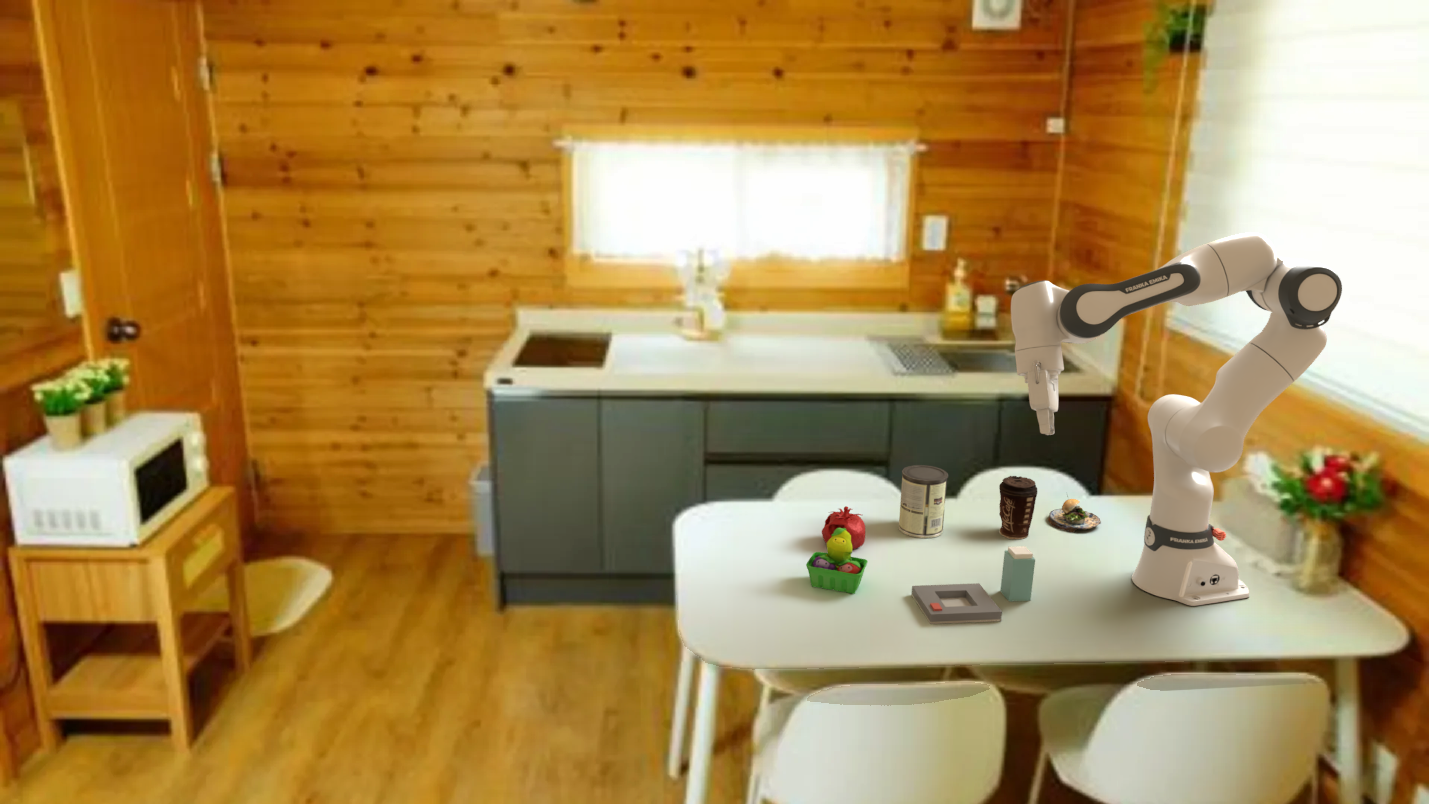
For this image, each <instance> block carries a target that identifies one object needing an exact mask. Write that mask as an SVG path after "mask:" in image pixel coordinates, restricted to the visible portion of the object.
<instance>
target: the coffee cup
mask: <svg viewBox="0 0 1429 804" xmlns="http://www.w3.org/2000/svg"><path fill="white" fill-rule="evenodd" d="M998 488H999V496H1000V500H999V517H1000V520H1001V526H1000V528H999V530H998V531H999V532H998V533H999V535H1001V536H1003V537H1005V538H1007V539H1010V540H1022V539H1025V538H1027V537H1029V531H1030V528H1031V524H1032V520H1033V517H1034V512H1035V505H1036V500H1037V497H1038V496H1037V495H1038V487H1037V485H1036V481H1035V480H1033V479H1031V478H1028V477H1026V476H1017V475H1009V476H1007V477H1004V478H1003V479H1002V482H1001V483H1000V484H999V487H998Z"/></svg>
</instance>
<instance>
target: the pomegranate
mask: <svg viewBox="0 0 1429 804" xmlns="http://www.w3.org/2000/svg"><path fill="white" fill-rule="evenodd" d="M853 509H854V508H849V507H848V506H844V507H843V509H842V508H838V510H839V511H832V512H831V513H829V515H827V516H826V517H827V518H826V519H825V521H824V527H823V528H822V529H821V534H822V539H823V540H824V543H826V544H827V542H828V540H829V539H830V538H831V537H832V534H833V533H834V531H835V530H836V529H837V528H846V531H847V532H848V533H849V534H850V535H851V543H852V550H855V549H859V548H861V547H862V546H863V545H864V544H865V541H866V525H865V522H864V520H863V519H862V518H861V517H860V516H862V514H861V513H850V511H852V510H853Z"/></svg>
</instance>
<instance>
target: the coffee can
mask: <svg viewBox="0 0 1429 804" xmlns="http://www.w3.org/2000/svg"><path fill="white" fill-rule="evenodd" d="M901 476H902V478H901V488H900V489H901V490H900V492H901V493H900V503H899V504H900V505H899V518H898V519H899V523H898V530H899V531H900V532H901V533H902V534H904V535H907V536H909V537H912V538H919V539H932V538H937V537H939V536H941V535H942V534H943V532H944V521H945V507H946V496H947V485H948V478H949V473H948V472H947V471H946V470H945V469H942V468H940V467H937V466H933V465H927V464H925V465H924V464H915V465H914V464H913V465H909V466H906V467H904V468H903V469H902V470H901Z"/></svg>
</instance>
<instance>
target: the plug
mask: <svg viewBox="0 0 1429 804" xmlns="http://www.w3.org/2000/svg"><path fill="white" fill-rule="evenodd" d="M1002 563H1003V565H1002V572H1001V573H1002V574H1001V583H1000V592H1001V594H1002V596H1003V597H1005V599H1006V600H1007V601H1008V602H1028V601H1031V599H1032V592H1033V591H1032V589H1033V582H1034V576H1035V575H1034V574H1035V568H1036V567H1035V566H1036V558H1035V557H1034V554H1033V552H1032V551H1030V550H1029V549H1028V547H1027V546H1026V545H1021V546H1020V545H1019V546H1018V545H1017V546H1008V547H1007V550H1006V549H1005V550H1004V554H1003V562H1002Z"/></svg>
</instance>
